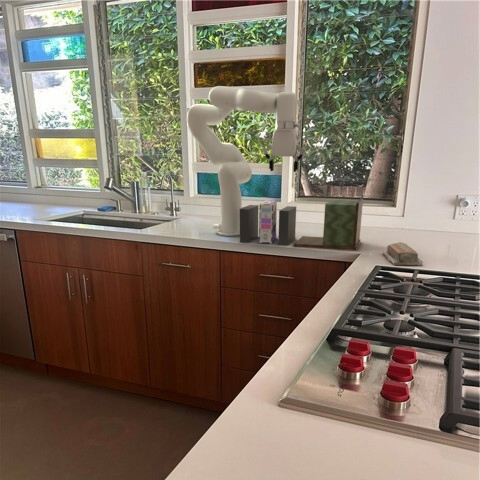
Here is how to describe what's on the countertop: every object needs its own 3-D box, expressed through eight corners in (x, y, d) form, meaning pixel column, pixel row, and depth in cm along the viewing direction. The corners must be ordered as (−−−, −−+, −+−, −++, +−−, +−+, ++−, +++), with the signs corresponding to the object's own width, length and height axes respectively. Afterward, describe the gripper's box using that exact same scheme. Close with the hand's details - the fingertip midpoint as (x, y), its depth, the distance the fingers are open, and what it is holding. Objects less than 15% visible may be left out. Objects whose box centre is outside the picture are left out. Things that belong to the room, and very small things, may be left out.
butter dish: (424, 252, 157) (394, 252, 157) (422, 266, 158) (393, 265, 159) (410, 241, 173) (383, 241, 174) (408, 254, 175) (381, 253, 176)
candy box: (272, 243, 194) (273, 203, 188) (258, 243, 195) (258, 203, 189) (276, 237, 207) (277, 199, 201) (263, 237, 208) (264, 199, 202)
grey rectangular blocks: (239, 242, 198) (239, 208, 193) (249, 236, 210) (249, 204, 205) (287, 245, 192) (288, 210, 187) (295, 238, 204) (296, 206, 199)
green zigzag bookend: (293, 246, 189) (295, 200, 183) (302, 238, 204) (304, 196, 198) (356, 250, 182) (360, 203, 175) (360, 242, 197) (364, 198, 190)
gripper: (308, 126, 186) (305, 171, 192) (266, 126, 190) (264, 170, 197) (305, 126, 179) (302, 172, 186) (261, 126, 184) (260, 171, 190)
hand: (283, 171), depth 191 cm, fingers open, 9 cm apart
